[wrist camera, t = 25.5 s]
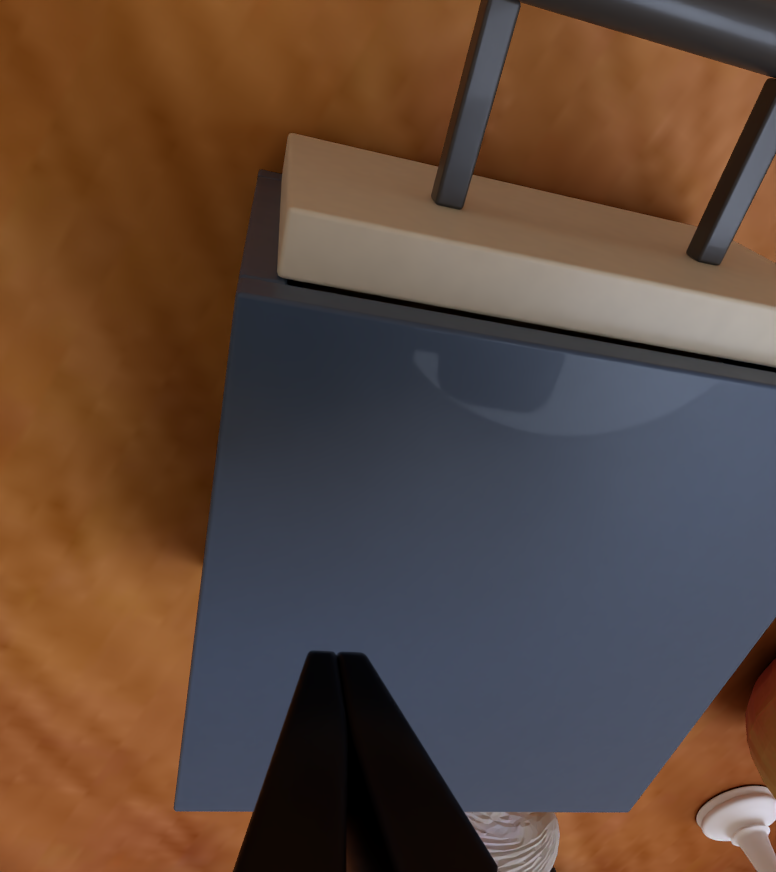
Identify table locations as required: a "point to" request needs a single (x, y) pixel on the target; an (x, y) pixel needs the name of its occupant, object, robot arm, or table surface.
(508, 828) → the seashell
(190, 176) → the table surface
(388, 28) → the table surface
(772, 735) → the apple
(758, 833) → the chess piece
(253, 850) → the robot arm
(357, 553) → the cabinet
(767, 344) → the drawer
